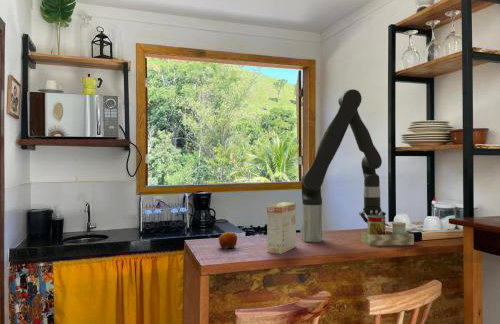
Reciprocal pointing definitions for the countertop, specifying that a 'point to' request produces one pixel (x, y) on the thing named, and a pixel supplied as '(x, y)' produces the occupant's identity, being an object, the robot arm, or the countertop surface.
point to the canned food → (376, 224)
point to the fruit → (228, 240)
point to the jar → (399, 228)
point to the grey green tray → (388, 239)
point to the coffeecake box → (281, 227)
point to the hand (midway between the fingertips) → (372, 231)
